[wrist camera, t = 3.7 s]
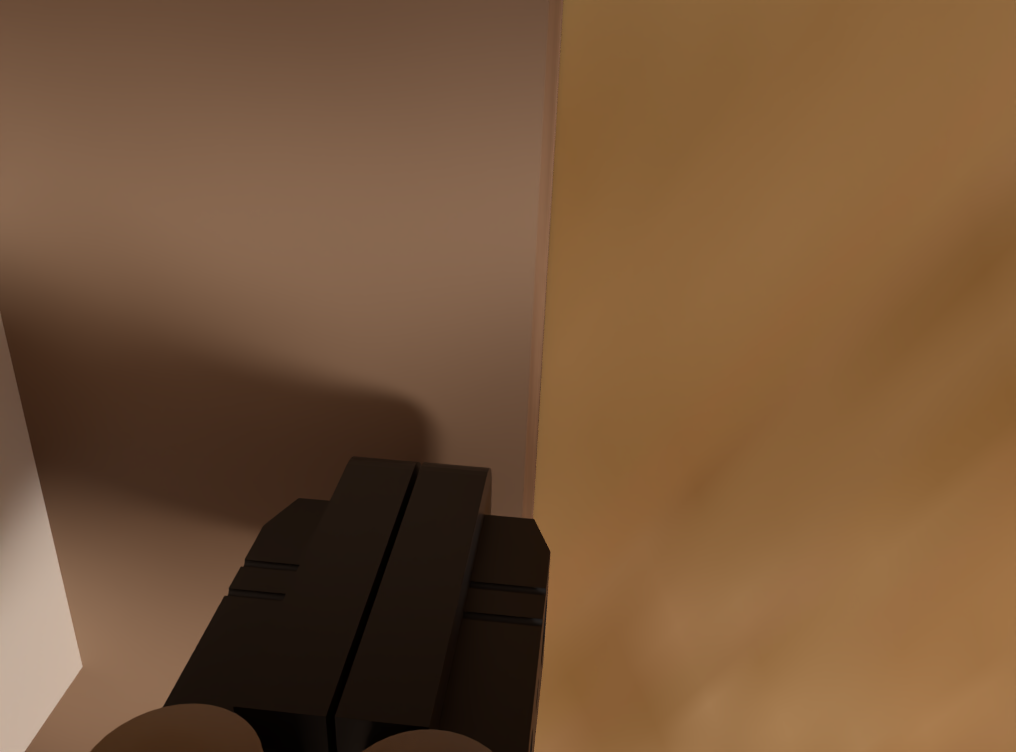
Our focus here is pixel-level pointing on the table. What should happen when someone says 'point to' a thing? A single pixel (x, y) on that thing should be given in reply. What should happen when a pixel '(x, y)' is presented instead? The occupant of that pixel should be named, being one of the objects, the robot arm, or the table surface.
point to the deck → (259, 283)
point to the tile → (27, 584)
